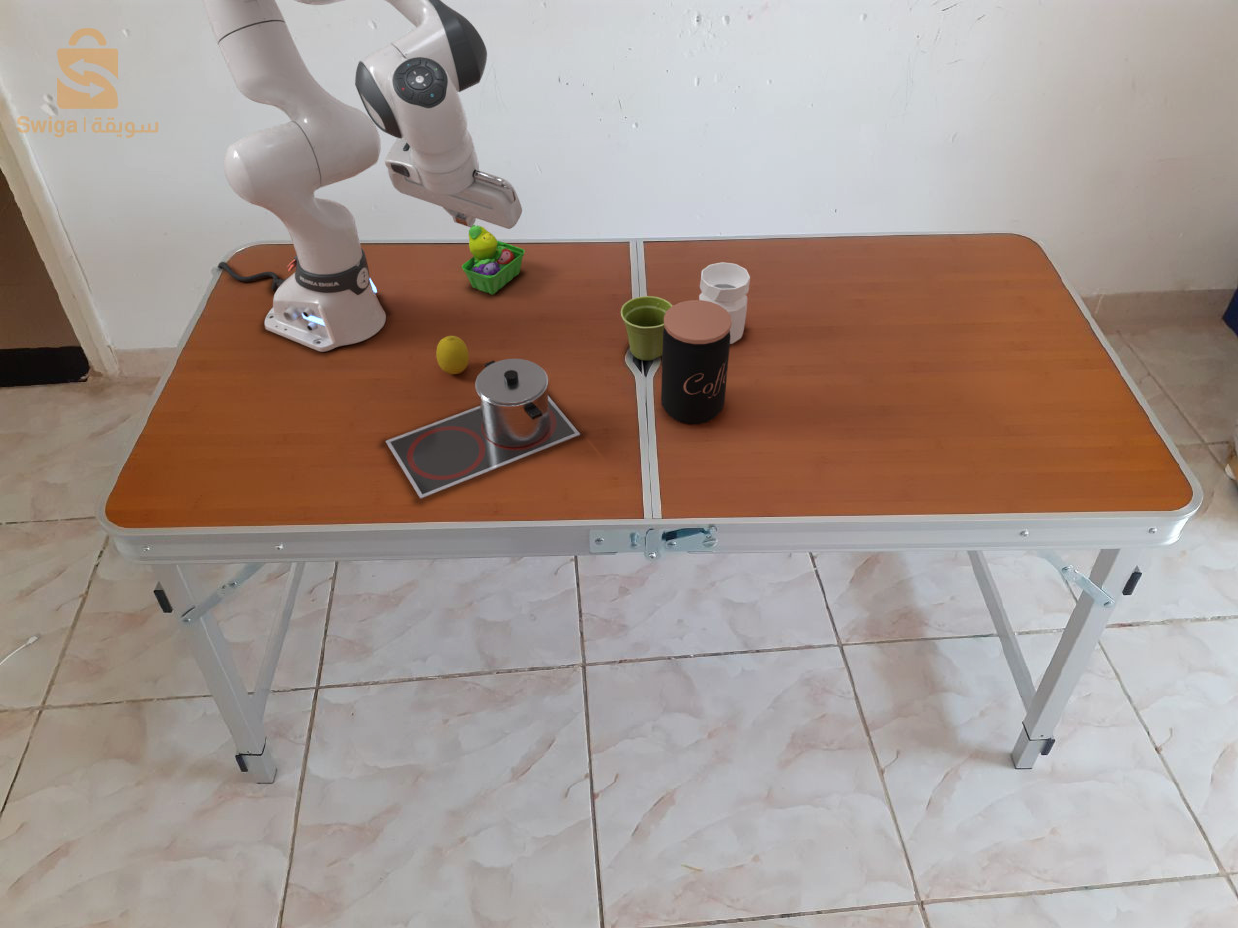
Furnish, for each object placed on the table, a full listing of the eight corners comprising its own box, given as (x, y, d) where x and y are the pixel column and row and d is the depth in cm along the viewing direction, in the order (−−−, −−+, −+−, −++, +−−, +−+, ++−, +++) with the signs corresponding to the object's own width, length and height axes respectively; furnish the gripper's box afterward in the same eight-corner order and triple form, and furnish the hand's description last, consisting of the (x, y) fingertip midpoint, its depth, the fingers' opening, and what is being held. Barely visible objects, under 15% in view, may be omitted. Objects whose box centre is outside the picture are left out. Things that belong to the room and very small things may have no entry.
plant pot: (668, 370, 169) (670, 330, 163) (616, 363, 170) (615, 324, 164) (676, 338, 175) (678, 299, 169) (626, 332, 177) (626, 293, 171)
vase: (690, 339, 175) (693, 283, 167) (705, 313, 181) (709, 258, 173) (736, 350, 173) (741, 294, 164) (750, 323, 179) (755, 268, 170)
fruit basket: (494, 300, 185) (488, 249, 177) (458, 287, 188) (450, 236, 180) (528, 272, 191) (524, 222, 184) (493, 260, 195) (487, 210, 187)
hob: (420, 500, 147) (420, 498, 146) (385, 443, 156) (385, 440, 156) (580, 436, 157) (580, 434, 156) (538, 386, 166) (538, 383, 166)
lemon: (476, 367, 170) (471, 330, 164) (462, 386, 166) (457, 349, 161) (448, 361, 171) (442, 324, 166) (434, 379, 168) (427, 343, 162)
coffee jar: (681, 435, 157) (685, 347, 144) (649, 398, 164) (651, 311, 151) (736, 414, 160) (745, 327, 148) (702, 379, 167) (708, 292, 154)
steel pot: (509, 466, 151) (502, 415, 144) (463, 412, 161) (455, 361, 153) (571, 438, 156) (568, 387, 148) (523, 387, 165) (518, 336, 158)
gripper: (521, 166, 135) (534, 226, 147) (394, 125, 138) (417, 187, 151) (502, 201, 133) (516, 258, 145) (373, 158, 136) (399, 218, 149)
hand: (465, 221), depth 148 cm, fingers closed
